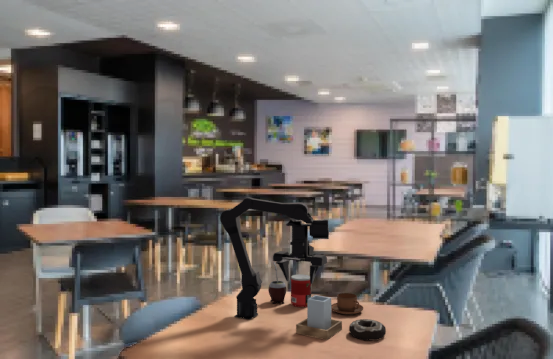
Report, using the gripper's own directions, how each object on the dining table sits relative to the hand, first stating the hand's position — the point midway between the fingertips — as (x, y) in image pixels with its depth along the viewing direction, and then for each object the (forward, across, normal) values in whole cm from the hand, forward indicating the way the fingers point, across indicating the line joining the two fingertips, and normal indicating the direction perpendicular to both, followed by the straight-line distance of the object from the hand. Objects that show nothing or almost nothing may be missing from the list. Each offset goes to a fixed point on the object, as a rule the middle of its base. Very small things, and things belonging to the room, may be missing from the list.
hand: (299, 282), depth 174 cm
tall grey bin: (+12, -11, +9) cm, 19 cm away
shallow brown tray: (+13, -11, +9) cm, 19 cm away
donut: (+14, -26, +5) cm, 30 cm away
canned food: (+13, +6, -16) cm, 22 cm away
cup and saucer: (+13, -13, -16) cm, 24 cm away
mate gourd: (+13, +16, -15) cm, 26 cm away
